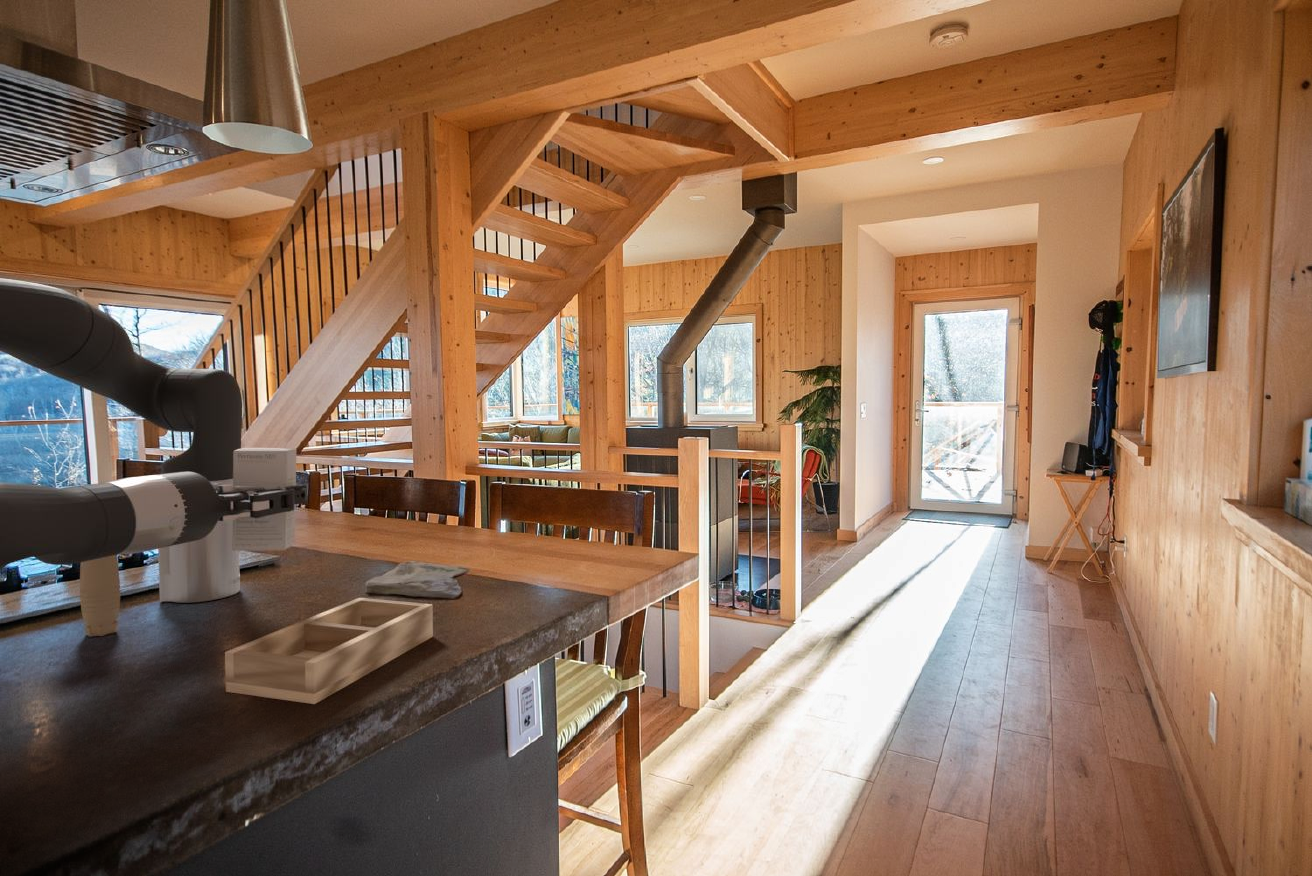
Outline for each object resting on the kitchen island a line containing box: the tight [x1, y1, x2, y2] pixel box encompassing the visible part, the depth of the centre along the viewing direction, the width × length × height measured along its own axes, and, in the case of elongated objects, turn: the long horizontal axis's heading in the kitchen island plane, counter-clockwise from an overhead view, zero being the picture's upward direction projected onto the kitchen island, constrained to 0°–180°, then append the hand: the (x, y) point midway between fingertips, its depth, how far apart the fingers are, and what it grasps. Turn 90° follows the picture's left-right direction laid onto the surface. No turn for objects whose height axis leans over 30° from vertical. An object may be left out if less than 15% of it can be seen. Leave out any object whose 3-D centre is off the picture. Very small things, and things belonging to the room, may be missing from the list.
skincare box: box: [232, 447, 297, 552], centre depth 85 cm, size 6×4×12 cm
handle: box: [79, 555, 121, 637], centre depth 86 cm, size 5×6×15 cm
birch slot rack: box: [224, 597, 434, 705], centre depth 78 cm, size 20×10×4 cm, turn 165°
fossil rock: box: [364, 560, 470, 599], centre depth 112 cm, size 18×15×2 cm
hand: (278, 492), depth 87 cm, fingers closed on skincare box, 7 cm apart
